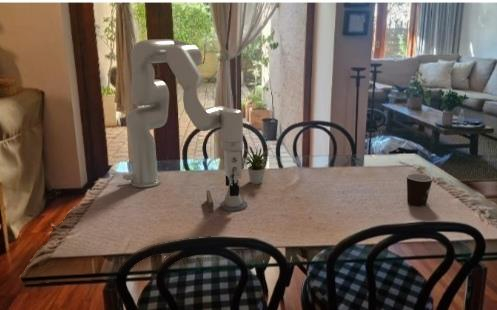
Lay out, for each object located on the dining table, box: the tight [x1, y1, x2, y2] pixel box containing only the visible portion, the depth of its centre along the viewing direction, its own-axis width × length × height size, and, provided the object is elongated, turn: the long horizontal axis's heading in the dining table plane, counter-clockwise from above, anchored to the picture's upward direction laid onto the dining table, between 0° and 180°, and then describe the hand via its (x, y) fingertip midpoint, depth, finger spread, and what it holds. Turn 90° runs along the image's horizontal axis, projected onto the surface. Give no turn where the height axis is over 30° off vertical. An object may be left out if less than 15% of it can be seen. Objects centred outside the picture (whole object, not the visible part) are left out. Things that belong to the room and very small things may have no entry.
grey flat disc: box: [219, 199, 248, 212], centre depth 154 cm, size 10×10×1 cm
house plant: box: [243, 144, 272, 185], centre depth 176 cm, size 14×14×16 cm
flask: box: [223, 178, 243, 207], centre depth 153 cm, size 7×7×10 cm
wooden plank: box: [206, 189, 215, 214], centre depth 153 cm, size 1×12×4 cm, turn 11°
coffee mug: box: [406, 172, 433, 208], centre depth 154 cm, size 12×9×10 cm
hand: (232, 190), depth 153 cm, fingers open, 9 cm apart
